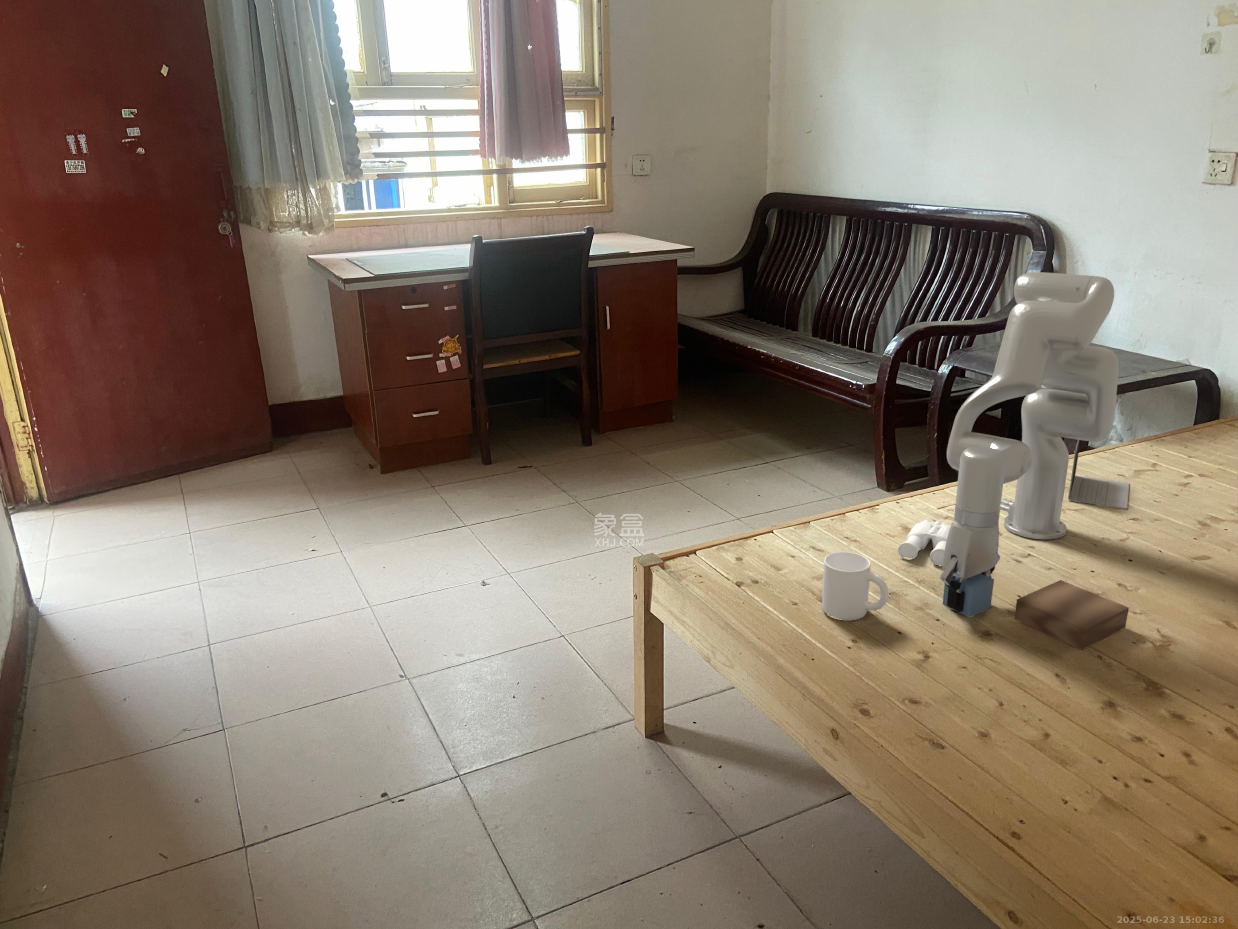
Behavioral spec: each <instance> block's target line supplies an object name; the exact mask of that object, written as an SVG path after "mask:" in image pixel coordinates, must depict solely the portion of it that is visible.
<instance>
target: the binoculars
mask: <svg viewBox="0 0 1238 929" xmlns="http://www.w3.org/2000/svg"><path fill="white" fill-rule="evenodd" d="M950 527H951V525H948V524H946V523H943V522H941V521H940V520H936V521H930V520H928V519H925V520H922V521H921V522H918V523H916V524H914V525H913V527H912V528H911V529H910V531H909V533H908V534H907V536H906V538H905V541H903V542H902V543H900V544H899V546H898V548H897V552H898V554H899V556H900V558H902V557H908V558H912V559H913V560H914V559H916V558H917V557H918V555H919V554H918V552H920V551H919V549H923V550H925V548H926V547H927V545H928V544H929V542H930V541H931V542H932V548H933V550H931V551H930V553H929V559H930V562H931V564H933V565H934V564H935V565H934V566H936V565H937V564H938V565H941V566H942V567H943V558H944V551H945V546H946V541H947V537H948V533H949V530H950ZM941 566H940V567H941Z"/></svg>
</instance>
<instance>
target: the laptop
mask: <svg viewBox="0 0 1238 929" xmlns="http://www.w3.org/2000/svg"><path fill="white" fill-rule="evenodd" d="M1080 447H1081V440H1078V439H1077V442H1076V446H1075V450H1074V455H1073V461H1072V462H1073V463H1072V468H1071V469H1072V470H1071V476H1070V484H1069V491H1068V496H1067V500H1068V502H1073V503H1076V504H1078V503H1080V504H1081V503H1082V504H1085V505H1086V504H1088V505H1094V506H1097V507H1105V508H1112V509H1122V510H1128V509H1129V508H1128V507H1129V506H1128V505H1129V494H1130V492H1129V491H1130V483H1129V482H1126V481H1119V480H1112V479H1110V480H1109V479H1103V478H1094V477H1088V476H1087V477H1086V476H1079V475H1076V474H1077V465H1078V459H1079V453H1080Z"/></svg>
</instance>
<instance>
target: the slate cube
mask: <svg viewBox="0 0 1238 929" xmlns="http://www.w3.org/2000/svg"><path fill="white" fill-rule="evenodd" d="M957 573H958V574H960V573H959V572H958V571H957ZM959 581H960V578H957V577H956V579H955V582H956V583H957V584H959ZM994 582H995V579H994V578H992V577H991V578H990V577H988V576H986V575H983V574H981V573H980V574H977V575H975V576H972V577H969V578H967V580H966V583H965V586H964V589H963V591H962V592H965V597H964V606H963V611H962V612H958V611H956V610H954V609H952V608H950V607H948V606H947V598H948V588H947V587H946V585H945V584H944V587H943V588H944V589H943V595H942V596H943V597H942V605H943V606H944V607H947V608H949V609H951V610H954V611H955V612H958V613H959V614H962V616H966V617H968V618H971V617H974V616H975V615H977V614H978V615H979V614H980V613H982V612H985V611H986V610H989V609H991V606H992V599H993V593H994V592H993V589H994Z"/></svg>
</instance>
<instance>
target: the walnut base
mask: <svg viewBox="0 0 1238 929" xmlns="http://www.w3.org/2000/svg"><path fill="white" fill-rule="evenodd" d="M1129 609H1130V607H1128V606H1127V605H1123V604H1120V603H1118V602H1116V601H1113V600H1111V599H1108V598H1106V597H1104V596H1102V595H1099V594H1096V593H1093V592H1091V591H1089V590H1086V589H1085V588H1081V587H1079V586H1076V585H1075V584H1074V585H1073V583H1069V582H1066V581H1064V580H1062V579H1059V580H1057V581H1055V582H1052V583H1050V584H1048V585H1045V586H1044V587H1041V588H1039V589H1037V590H1035V591H1031V592H1030V593H1028V594H1026V595H1023V596H1022V597H1019V598H1017V599H1016V604H1015V612H1014V617H1013V618H1014V620H1015V621H1018V622H1020V623H1022V624H1024V625H1026V626H1029V627H1031V628H1032V629H1035V630H1038V632H1039V631H1040V632H1042V633H1044V634H1046V635H1048V636H1051V637H1053V638H1055V639H1057V640H1059V641H1061V642H1063V643H1065V644H1067V645H1070V646H1072V647H1073V648H1076V649H1079V650H1080V651H1084V650H1085V649H1086V648H1089V647H1090V646H1092V645H1095V644H1096V643H1098V642H1100V641H1102V640H1104V639H1106V638H1108V637H1110V636H1112V635H1114V634H1115V633H1118V632H1120V631H1122V630H1123V629H1125V628H1126V625H1127V621H1128V614H1129Z"/></svg>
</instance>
